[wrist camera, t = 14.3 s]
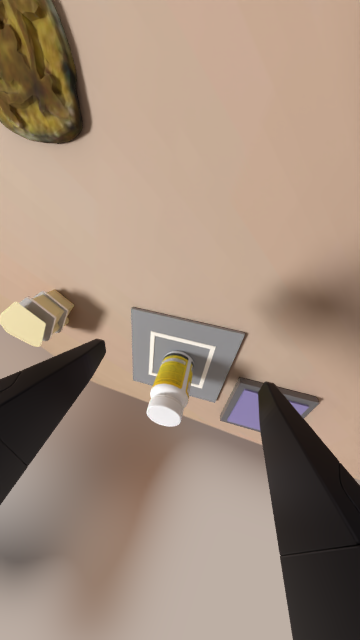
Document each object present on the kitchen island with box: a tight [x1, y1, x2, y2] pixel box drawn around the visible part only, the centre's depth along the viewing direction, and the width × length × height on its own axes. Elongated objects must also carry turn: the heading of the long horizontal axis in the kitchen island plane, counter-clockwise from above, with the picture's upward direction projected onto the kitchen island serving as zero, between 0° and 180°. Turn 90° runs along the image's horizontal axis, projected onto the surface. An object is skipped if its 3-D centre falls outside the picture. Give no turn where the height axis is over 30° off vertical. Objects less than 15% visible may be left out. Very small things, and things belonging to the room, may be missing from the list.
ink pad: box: [220, 377, 319, 432], centre depth 27 cm, size 11×11×1 cm
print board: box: [131, 307, 245, 403], centre depth 25 cm, size 15×15×1 cm
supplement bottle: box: [147, 351, 194, 426], centre depth 22 cm, size 5×5×8 cm
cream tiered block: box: [0, 290, 74, 347], centre depth 23 cm, size 10×9×6 cm
